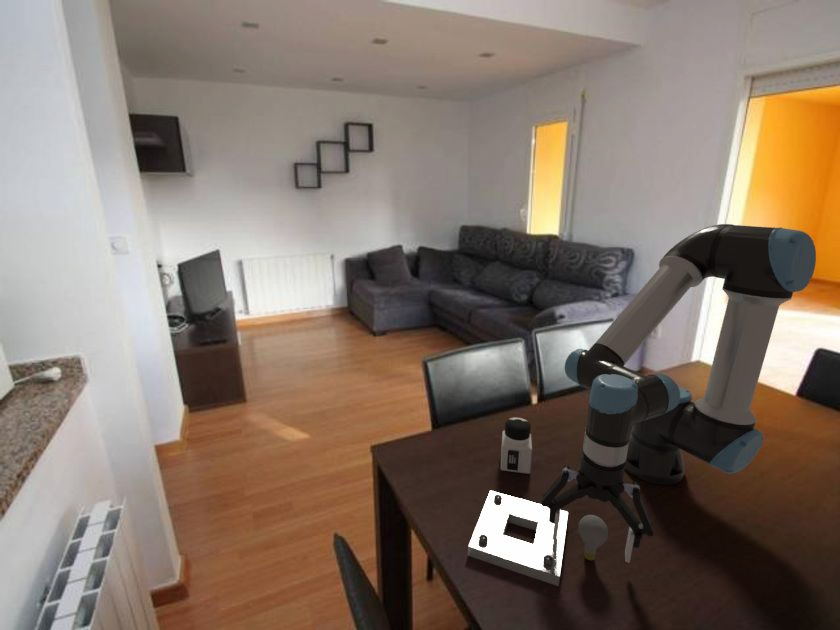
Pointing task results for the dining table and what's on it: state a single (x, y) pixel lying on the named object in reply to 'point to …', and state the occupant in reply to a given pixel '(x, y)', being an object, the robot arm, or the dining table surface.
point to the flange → (514, 553)
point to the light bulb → (592, 534)
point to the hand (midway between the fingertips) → (590, 545)
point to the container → (516, 446)
